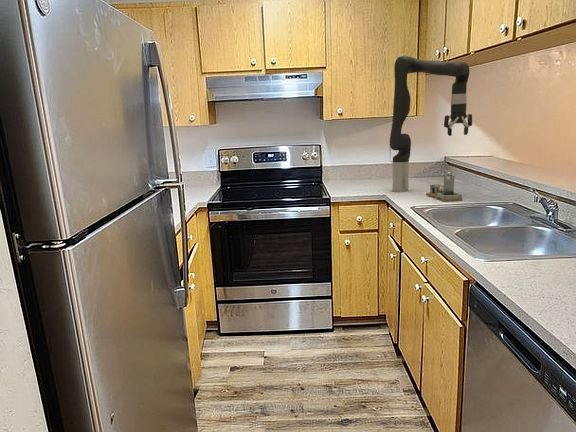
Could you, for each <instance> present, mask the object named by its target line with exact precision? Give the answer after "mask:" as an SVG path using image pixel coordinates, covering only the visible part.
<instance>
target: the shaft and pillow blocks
mask: <svg viewBox="0 0 576 432" xmlns="http://www.w3.org/2000/svg"><path fill="white" fill-rule="evenodd" d="M429 186H430V187H429V193H435V194H436V195H437V193H444V184H443V185H442V184H441V183H435V184H434V183H433V184H429Z"/></svg>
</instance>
